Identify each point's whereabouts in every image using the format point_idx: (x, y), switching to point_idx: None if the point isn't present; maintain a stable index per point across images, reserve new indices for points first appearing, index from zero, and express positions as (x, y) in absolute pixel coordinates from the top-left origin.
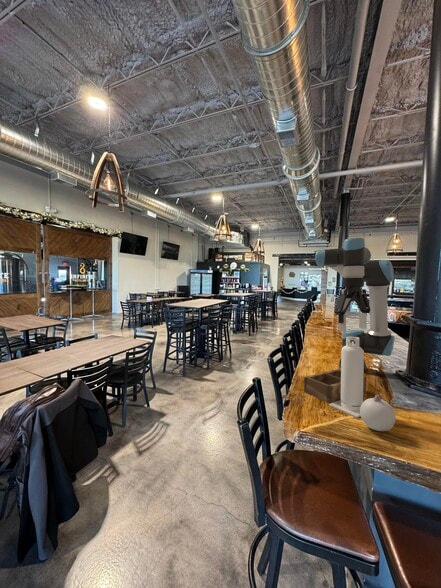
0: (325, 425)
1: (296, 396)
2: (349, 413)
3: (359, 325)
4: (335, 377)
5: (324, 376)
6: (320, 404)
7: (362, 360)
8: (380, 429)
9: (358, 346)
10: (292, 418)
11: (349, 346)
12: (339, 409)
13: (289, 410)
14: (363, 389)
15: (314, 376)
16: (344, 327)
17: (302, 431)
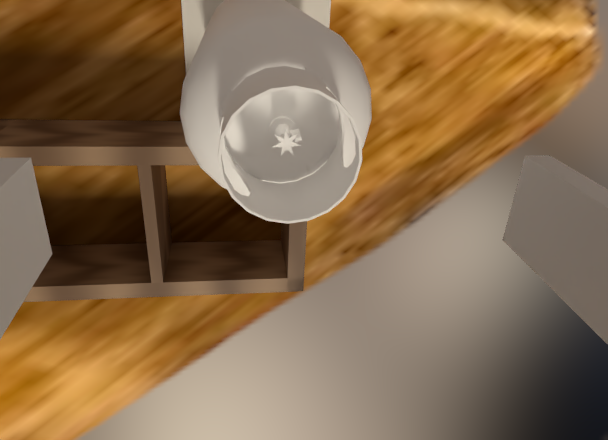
0: (494, 3)
1: (359, 235)
2: (330, 3)
3: (34, 275)
4: (156, 222)
5: (167, 273)
6: None
7: (265, 7)
8: None
9: (278, 67)
10: (534, 111)
11: (340, 125)
12: None
13: (487, 161)
14: (18, 124)
15: (246, 278)
16: (590, 185)
17: (595, 23)
